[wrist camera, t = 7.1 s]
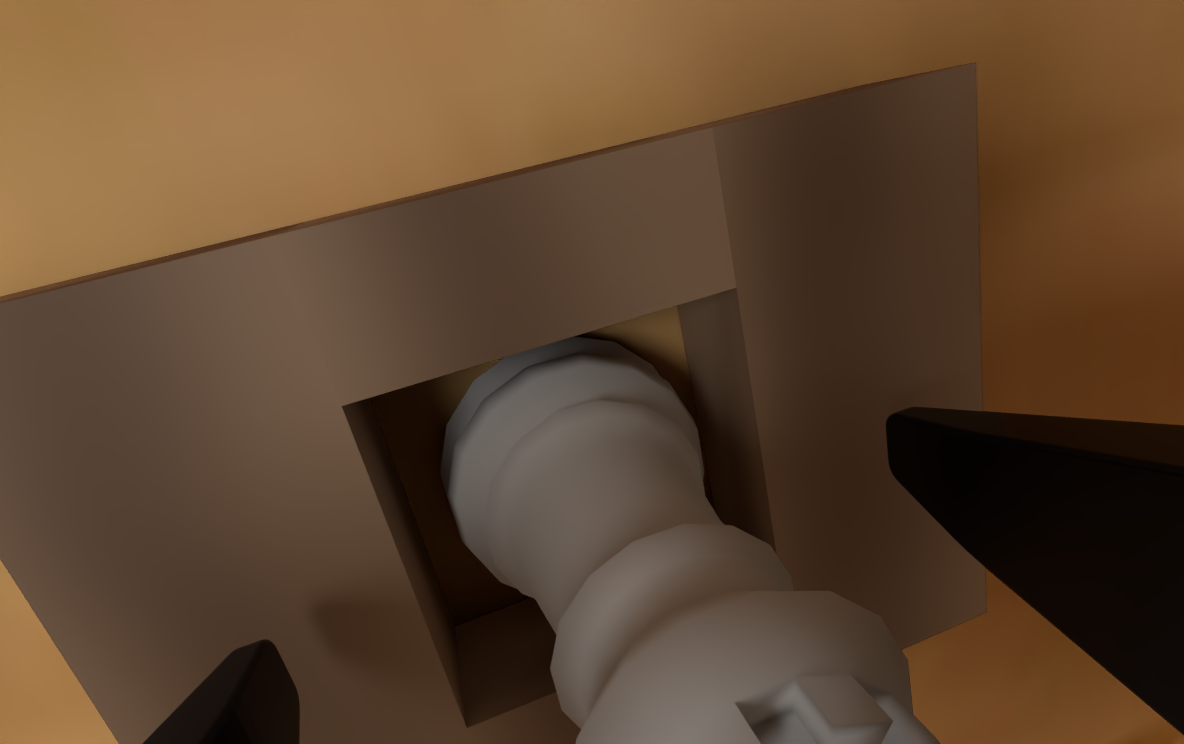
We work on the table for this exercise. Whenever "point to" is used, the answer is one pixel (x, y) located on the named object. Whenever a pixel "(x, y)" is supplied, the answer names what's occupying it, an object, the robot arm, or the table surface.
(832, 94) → the socket board
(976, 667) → the table surface
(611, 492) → the rook chess piece
